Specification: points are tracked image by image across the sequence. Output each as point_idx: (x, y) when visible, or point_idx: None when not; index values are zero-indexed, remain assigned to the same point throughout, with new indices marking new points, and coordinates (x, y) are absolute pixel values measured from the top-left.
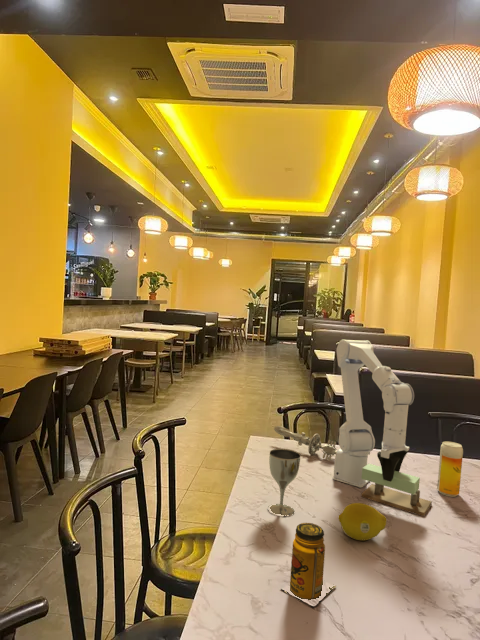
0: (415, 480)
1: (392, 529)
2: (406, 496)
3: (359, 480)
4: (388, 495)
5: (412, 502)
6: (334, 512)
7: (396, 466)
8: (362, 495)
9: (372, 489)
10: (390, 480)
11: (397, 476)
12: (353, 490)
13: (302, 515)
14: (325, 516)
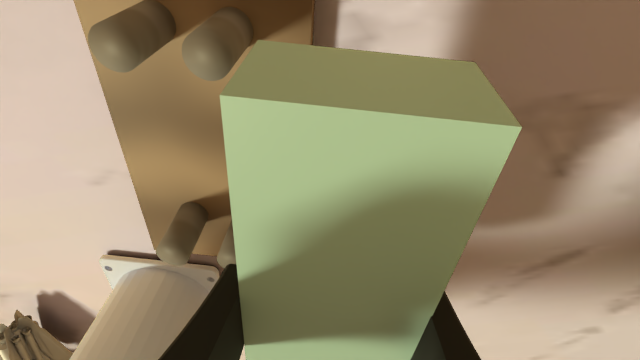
0: (392, 133)
1: (627, 79)
2: (141, 91)
3: (190, 294)
4: (223, 174)
5: (247, 41)
6: (524, 295)
7: (223, 355)
8: None
9: (217, 240)
10: (448, 299)
11: (387, 292)
12: None
13: (594, 350)
14: (575, 309)
